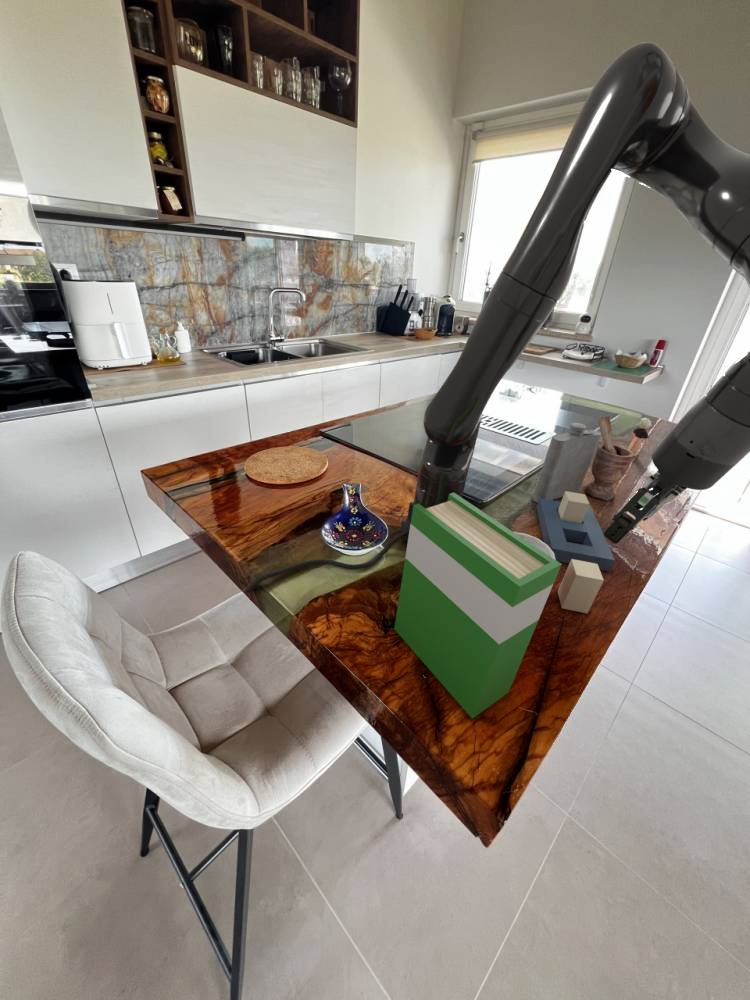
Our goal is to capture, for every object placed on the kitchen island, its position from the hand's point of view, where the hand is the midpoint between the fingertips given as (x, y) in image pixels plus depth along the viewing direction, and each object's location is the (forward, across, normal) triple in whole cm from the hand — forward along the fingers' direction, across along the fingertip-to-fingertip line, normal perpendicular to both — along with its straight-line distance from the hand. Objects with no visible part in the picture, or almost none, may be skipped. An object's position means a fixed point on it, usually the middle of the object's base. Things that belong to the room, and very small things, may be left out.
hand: (624, 527), depth 60 cm
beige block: (+22, -3, +2) cm, 22 cm away
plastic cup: (+22, +8, -5) cm, 24 cm away
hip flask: (+31, -36, -20) cm, 52 cm away
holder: (+26, -22, -8) cm, 35 cm away
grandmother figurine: (+37, -87, -20) cm, 97 cm away
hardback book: (+20, +26, -3) cm, 33 cm away
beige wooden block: (+28, -25, -11) cm, 39 cm away
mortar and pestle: (+31, -49, -16) cm, 60 cm away
